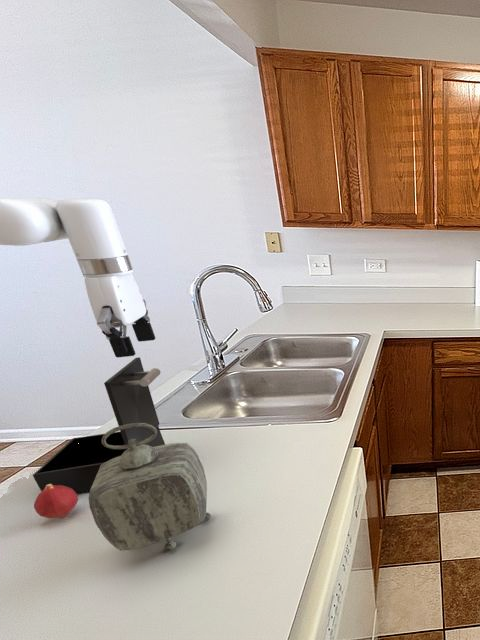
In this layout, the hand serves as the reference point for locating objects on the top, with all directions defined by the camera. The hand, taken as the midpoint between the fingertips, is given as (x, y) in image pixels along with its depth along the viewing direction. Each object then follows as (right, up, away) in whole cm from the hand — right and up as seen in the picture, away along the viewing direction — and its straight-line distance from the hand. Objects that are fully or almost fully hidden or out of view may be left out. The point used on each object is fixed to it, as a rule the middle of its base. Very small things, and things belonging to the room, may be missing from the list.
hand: (137, 347), depth 84 cm
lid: (-4, -13, +4) cm, 14 cm away
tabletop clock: (+16, -36, -11) cm, 41 cm away
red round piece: (-10, -34, -5) cm, 36 cm away
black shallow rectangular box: (-13, -28, +8) cm, 32 cm away
